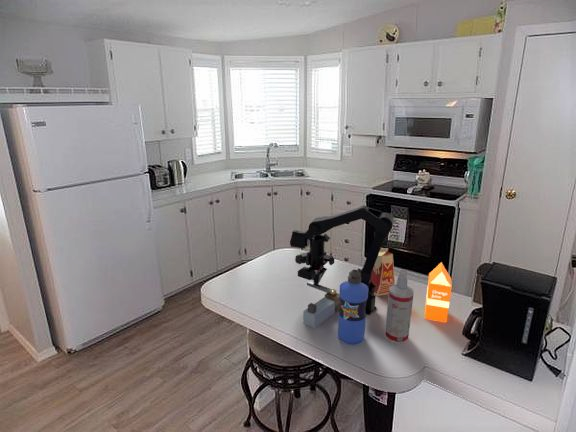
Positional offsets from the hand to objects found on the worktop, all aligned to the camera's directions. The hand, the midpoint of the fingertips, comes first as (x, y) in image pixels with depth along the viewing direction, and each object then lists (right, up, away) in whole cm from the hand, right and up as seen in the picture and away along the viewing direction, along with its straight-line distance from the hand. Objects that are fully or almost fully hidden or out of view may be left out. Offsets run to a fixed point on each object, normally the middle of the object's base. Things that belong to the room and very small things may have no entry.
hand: (316, 285), depth 151 cm
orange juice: (+45, -10, -8) cm, 46 cm away
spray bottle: (+26, -14, -22) cm, 37 cm away
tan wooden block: (+6, -8, -5) cm, 11 cm away
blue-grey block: (0, -10, -11) cm, 15 cm away
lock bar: (+2, -1, -3) cm, 4 cm away
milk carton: (+28, -4, +10) cm, 30 cm away
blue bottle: (+10, -14, -22) cm, 28 cm away
